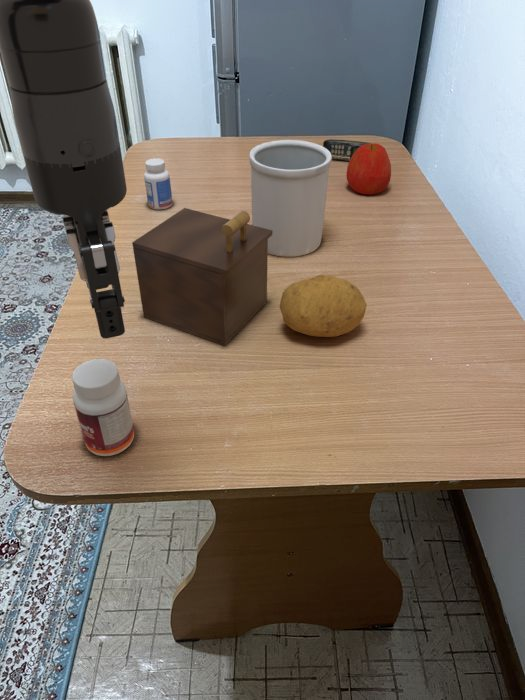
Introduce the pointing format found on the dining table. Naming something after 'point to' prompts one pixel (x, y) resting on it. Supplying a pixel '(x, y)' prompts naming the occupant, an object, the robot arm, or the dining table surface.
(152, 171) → the pill bottle
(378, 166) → the apple
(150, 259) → the chest
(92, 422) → the pill bottle
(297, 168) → the utensil holder
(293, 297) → the potato
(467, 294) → the dining table surface
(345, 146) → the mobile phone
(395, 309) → the dining table surface
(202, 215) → the lid
